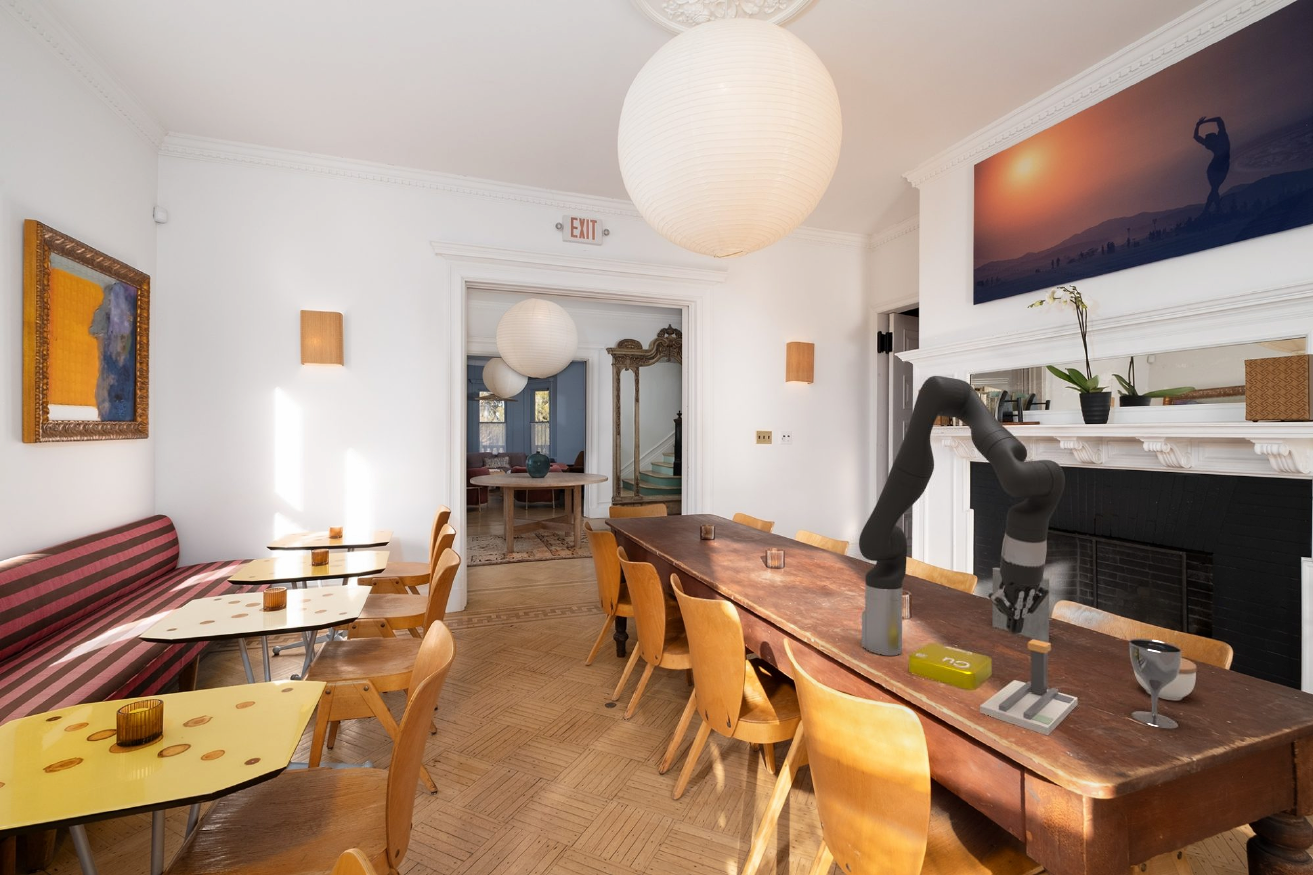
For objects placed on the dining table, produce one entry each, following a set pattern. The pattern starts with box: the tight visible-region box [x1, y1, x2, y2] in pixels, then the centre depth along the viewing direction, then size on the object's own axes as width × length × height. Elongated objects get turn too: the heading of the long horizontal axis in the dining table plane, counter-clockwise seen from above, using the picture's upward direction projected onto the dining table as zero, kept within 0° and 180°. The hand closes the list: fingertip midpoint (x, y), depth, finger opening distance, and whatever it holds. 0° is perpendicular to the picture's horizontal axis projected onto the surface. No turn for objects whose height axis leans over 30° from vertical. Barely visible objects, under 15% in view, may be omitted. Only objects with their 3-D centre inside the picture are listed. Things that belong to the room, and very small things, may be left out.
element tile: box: [908, 642, 993, 691], centre depth 141 cm, size 15×15×5 cm
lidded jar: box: [1133, 657, 1198, 701], centre depth 130 cm, size 11×11×9 cm
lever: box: [1027, 639, 1052, 695], centre depth 126 cm, size 3×3×11 cm
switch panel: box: [979, 679, 1079, 736], centre depth 122 cm, size 12×20×2 cm, turn 131°
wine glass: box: [1129, 638, 1182, 730], centre depth 118 cm, size 8×8×15 cm
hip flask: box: [991, 567, 1050, 643], centre depth 171 cm, size 16×4×20 cm, turn 26°
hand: (1013, 631), depth 122 cm, fingers closed
